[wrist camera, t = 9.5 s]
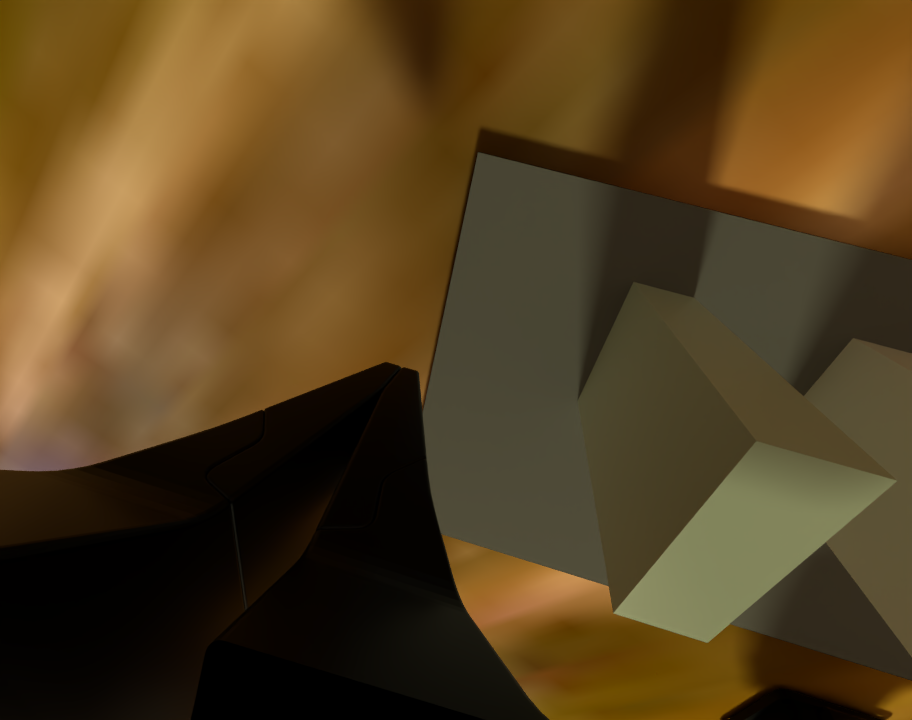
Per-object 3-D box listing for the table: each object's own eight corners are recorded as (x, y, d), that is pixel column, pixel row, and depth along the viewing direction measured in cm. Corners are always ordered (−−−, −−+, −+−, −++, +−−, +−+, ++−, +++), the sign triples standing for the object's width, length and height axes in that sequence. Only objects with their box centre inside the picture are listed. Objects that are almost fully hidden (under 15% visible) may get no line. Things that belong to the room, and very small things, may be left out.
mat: (1000, 696, 19) (1013, 712, 19) (403, 511, 21) (399, 520, 20) (1624, 437, 10) (1683, 452, 10) (480, 152, 12) (477, 152, 11)
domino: (627, 415, 15) (707, 642, 8) (577, 401, 15) (613, 612, 8) (694, 297, 12) (897, 480, 5) (633, 281, 12) (756, 440, 5)
